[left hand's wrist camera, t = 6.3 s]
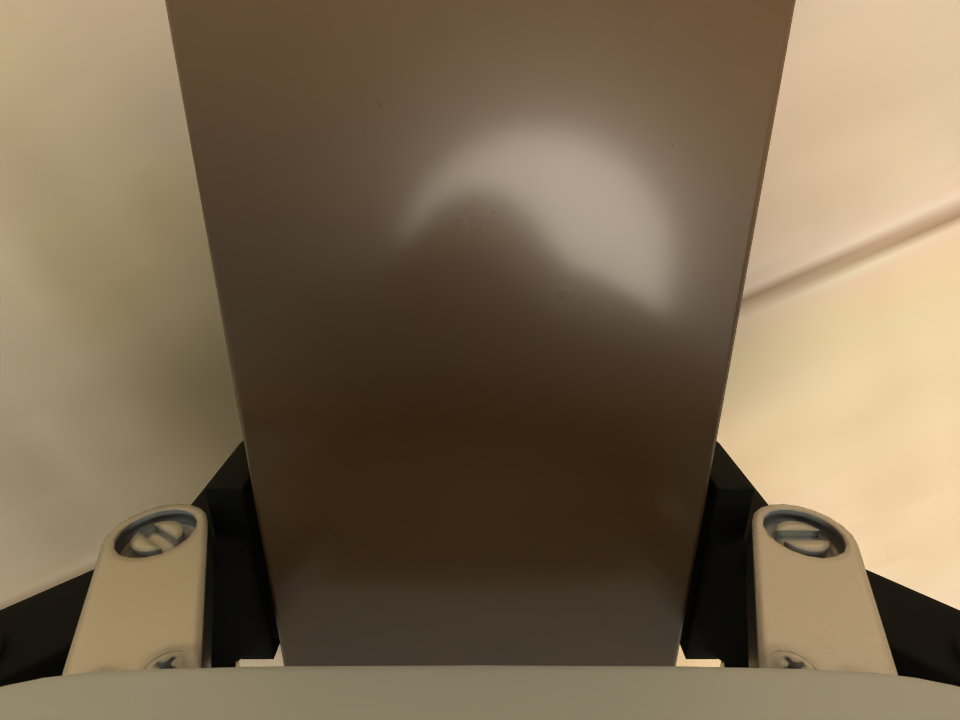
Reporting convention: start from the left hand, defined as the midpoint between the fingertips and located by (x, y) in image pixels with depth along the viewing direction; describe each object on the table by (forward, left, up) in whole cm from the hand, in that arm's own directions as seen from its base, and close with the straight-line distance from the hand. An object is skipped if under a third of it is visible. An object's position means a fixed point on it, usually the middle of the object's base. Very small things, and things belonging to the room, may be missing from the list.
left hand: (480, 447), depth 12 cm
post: (+19, 0, -2) cm, 20 cm away
